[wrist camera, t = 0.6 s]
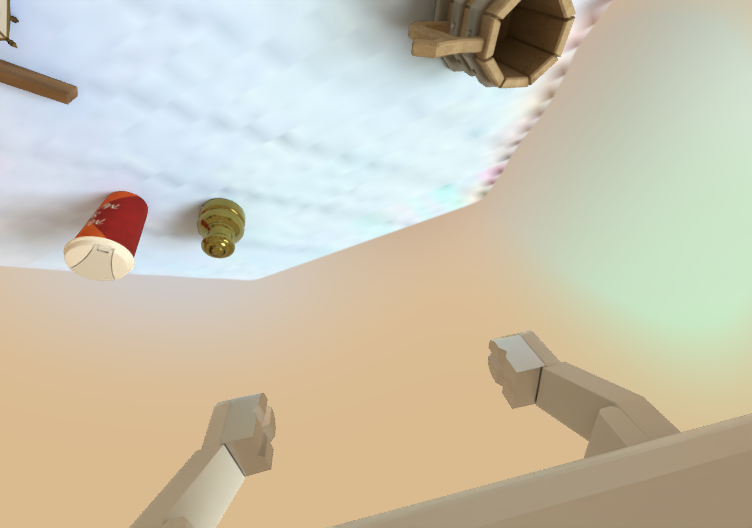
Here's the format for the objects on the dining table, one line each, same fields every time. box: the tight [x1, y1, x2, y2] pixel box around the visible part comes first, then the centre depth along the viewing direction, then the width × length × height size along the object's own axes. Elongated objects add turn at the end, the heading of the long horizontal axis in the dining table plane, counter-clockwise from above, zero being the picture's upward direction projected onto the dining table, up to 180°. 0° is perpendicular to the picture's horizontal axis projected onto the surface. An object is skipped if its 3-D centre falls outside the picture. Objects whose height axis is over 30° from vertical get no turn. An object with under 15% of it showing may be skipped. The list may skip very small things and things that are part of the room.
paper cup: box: [64, 191, 148, 281], centre depth 48 cm, size 8×8×14 cm
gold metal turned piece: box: [197, 199, 245, 258], centre depth 55 cm, size 7×8×10 cm
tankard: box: [408, 0, 575, 88], centre depth 40 cm, size 20×13×15 cm, turn 89°
